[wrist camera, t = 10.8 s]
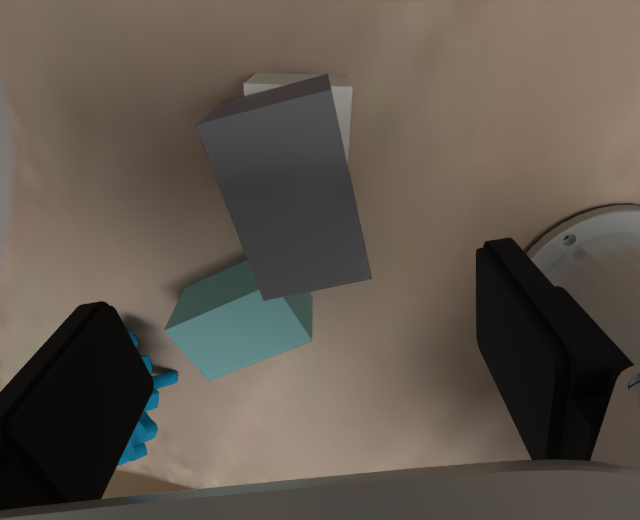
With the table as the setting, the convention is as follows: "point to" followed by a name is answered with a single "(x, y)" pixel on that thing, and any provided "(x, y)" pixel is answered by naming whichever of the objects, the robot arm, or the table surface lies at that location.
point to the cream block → (337, 82)
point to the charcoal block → (288, 187)
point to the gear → (145, 425)
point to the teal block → (236, 322)
